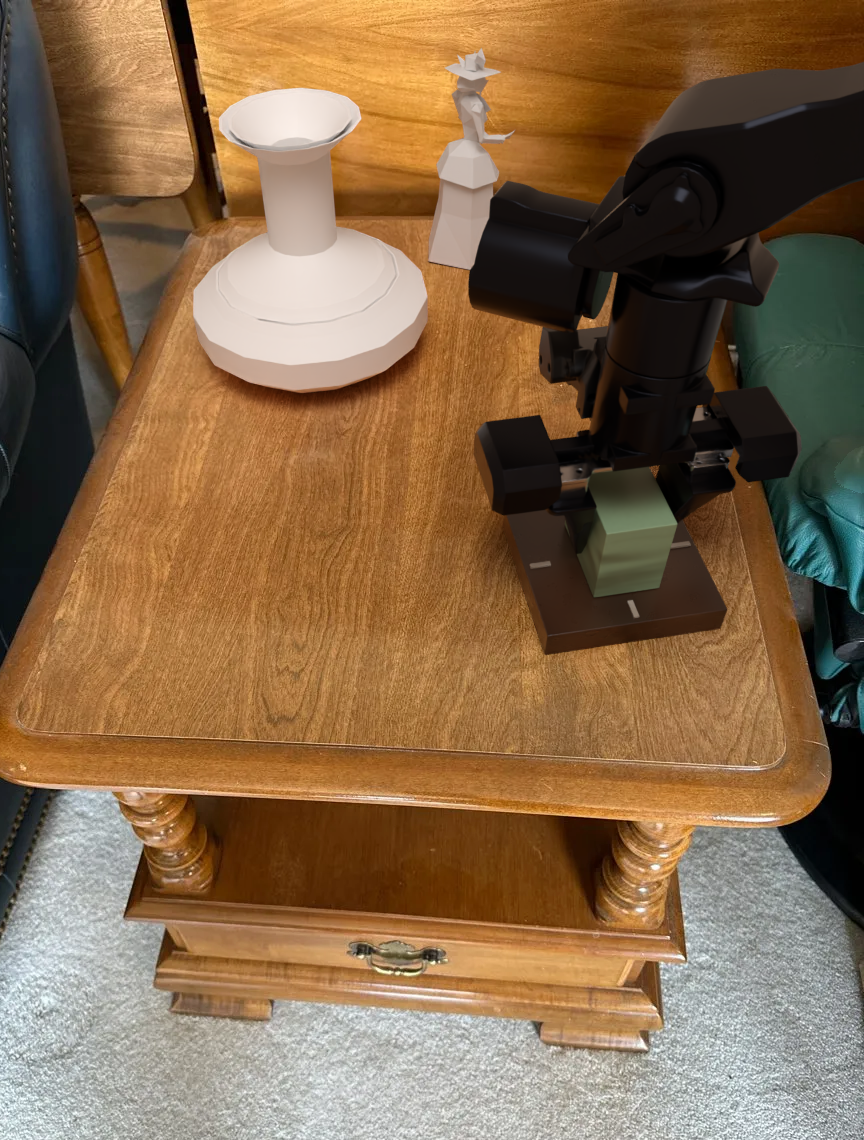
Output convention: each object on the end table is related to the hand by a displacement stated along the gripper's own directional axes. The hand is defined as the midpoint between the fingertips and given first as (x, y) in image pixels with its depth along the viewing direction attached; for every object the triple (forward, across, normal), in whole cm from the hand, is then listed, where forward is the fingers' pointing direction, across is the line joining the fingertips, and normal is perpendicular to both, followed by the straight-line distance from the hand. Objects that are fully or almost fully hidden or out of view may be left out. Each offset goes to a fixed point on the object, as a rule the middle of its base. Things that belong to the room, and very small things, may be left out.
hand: (611, 544), depth 64 cm
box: (+1, 0, 0) cm, 1 cm away
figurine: (+4, +1, -44) cm, 44 cm away
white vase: (+4, +17, -31) cm, 35 cm away
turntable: (+3, 0, 0) cm, 3 cm away
